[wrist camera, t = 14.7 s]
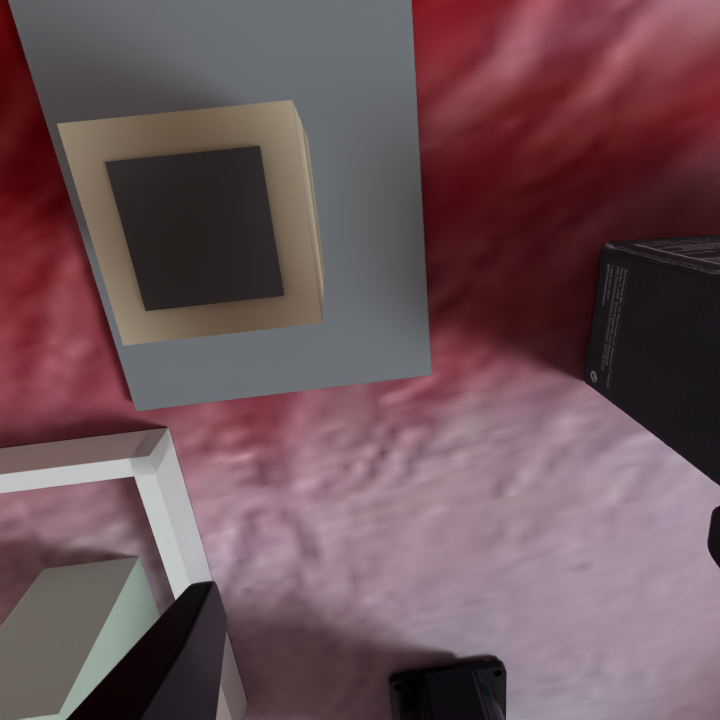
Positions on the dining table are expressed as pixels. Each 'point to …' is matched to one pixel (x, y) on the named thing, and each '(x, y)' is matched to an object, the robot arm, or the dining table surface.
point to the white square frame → (161, 501)
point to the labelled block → (201, 219)
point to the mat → (327, 155)
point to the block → (71, 635)
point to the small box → (662, 341)
